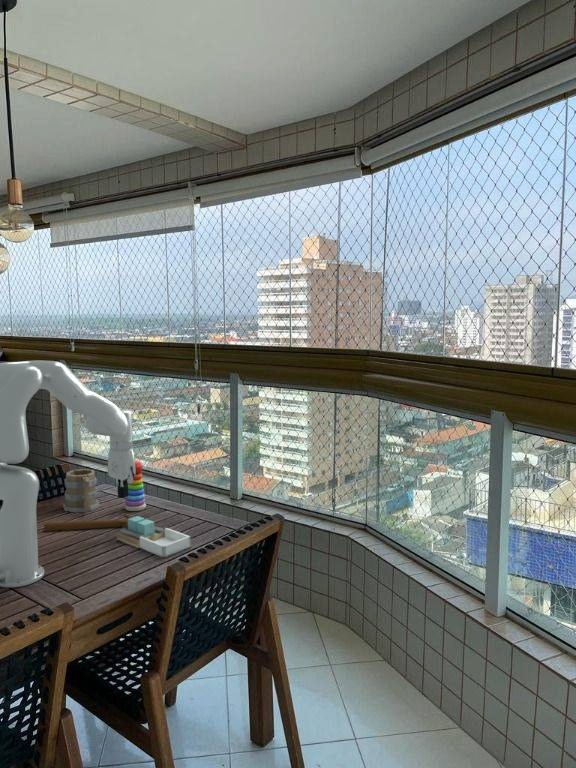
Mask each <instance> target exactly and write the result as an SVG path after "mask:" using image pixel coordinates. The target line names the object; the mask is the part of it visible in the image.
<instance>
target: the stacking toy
mask: <svg viewBox="0 0 576 768" xmlns="http://www.w3.org/2000/svg"><path fill="white" fill-rule="evenodd" d="M142 470H143V464H142V463H141V461H138V460H135V477H134V478H133V483H129V486H128V497H125V498H126V499H125V501H124V503H125V505H124V509H125V510H126V511H128V512H138V511H143V510H144V509H145V508H146V507H147V503H146V499H145V497H146V494H145V489H144V484H143V479H142V478H143V473H141V472H142Z"/></svg>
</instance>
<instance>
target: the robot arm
mask: <svg viewBox="0 0 576 768" xmlns="http://www.w3.org/2000/svg"><path fill="white" fill-rule="evenodd" d="M40 389H41V390H47V391H48V392H49V393H50V394H52V395H53V396H54V397H55V398H56V399H57V400H58V401H60V403H62V405H64V407H65V408H67V409H68V410H70V411H72V412H74V413H77V414H79V415H83V416H86V420H85V425H84V426H85V428H86V430H87V431H88V432H89V433H91V434H93V435H97V436H98V435H100V436H108V437H109V449H108V455H107V475H108V476H109V477H111V478H112V479H114V480H115V482H116V483H115V485H116V486H117V497H118V498H120V499H123V498H126V497H128V486H129V483H133V478H134V477H135V461H136V460H135V453H134V443H133V441H134V440H133V416H132V415H133V414H132V411H131V410H130V409H128V408H120V407H118V406H117V405H116V404H115V403H113V402H112V401H110V400H109V399H107V398H105V397H104V396H102V395H100V394H98V393H97V392H95V391H93V390H91V389H89V387H87V386H86V385H85V384H84V383H83V382H82V381H81V380H80V378H79V377H78V376H76V375H75V374H74V372H73V371H72V370H70V368H69V367H68V366H67V365H65V364H64V363H62V362H61V361H55V360H43V359H42V360H41V359H39V360H38V359H37V360H25V361H13V362H9V361H8V362H0V500H1V501H2V504H1V505H2V506H1V508H0V587H2V588H19V587H25V586H28V585H31V584H33V583H36V582H37V581H39V580H41V579H42V578H43V577H44V575H45V568H44V567H43V566H41V565H39V554H38V553H39V552H38V549H39V548H38V523H37V522H38V521H37V503H38V495H39V490H40V480H39V477H38V475H37V474H36V473H35V472H34V471H32V470H31V469H29V468H27V467H23V466H17V465H16V464H19V463H22V462H24V461H25V460H26V459H27V458H28V456H29V451H30V445H29V444H30V443H29V435H28V429H27V427H28V426H27V420H26V417H27V416H26V411H27V406H28V405H29V402H30V401H31V399H32V398H33V396H34V395H35V394H36V393H37V392H38V391H39V390H40Z"/></svg>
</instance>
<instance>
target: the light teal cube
mask: <svg viewBox="0 0 576 768" xmlns="http://www.w3.org/2000/svg"><path fill="white" fill-rule="evenodd" d="M154 526H155V521H153V520H150V519H146V518H145V520H143V521H140V522H137V533H139V534H141V535H144V536H145V537H146V536H149V535H152V534H155V527H154Z"/></svg>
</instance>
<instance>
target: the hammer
mask: <svg viewBox="0 0 576 768" xmlns="http://www.w3.org/2000/svg"><path fill="white" fill-rule="evenodd" d="M123 517H124V518H122V519H120V518H117V519H109V520H104V519H103V520H71V521H56V522H55V521H52V522H51V521H50V522H49V521H48V522H47V521H46V522H44V524H43V531H44V532H45V531H46V532H55V531H56V532H57V531H58V532H59V530H62V531H76V530H77V531H79V530H90V529H91V530H94V529H106V528H108V529H109V528H121V529H124V528H126V529H128V519H130V518H133V517H134V516H132V515H129V514H123Z"/></svg>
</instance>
